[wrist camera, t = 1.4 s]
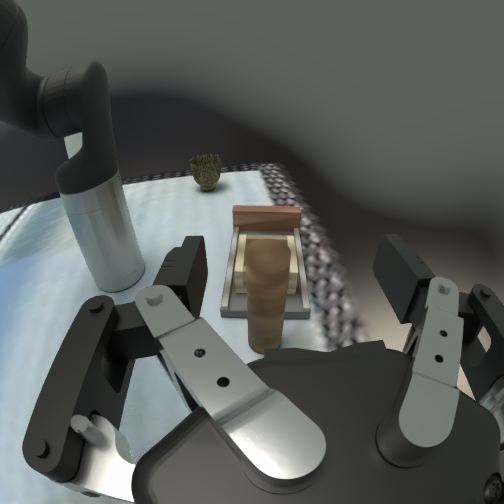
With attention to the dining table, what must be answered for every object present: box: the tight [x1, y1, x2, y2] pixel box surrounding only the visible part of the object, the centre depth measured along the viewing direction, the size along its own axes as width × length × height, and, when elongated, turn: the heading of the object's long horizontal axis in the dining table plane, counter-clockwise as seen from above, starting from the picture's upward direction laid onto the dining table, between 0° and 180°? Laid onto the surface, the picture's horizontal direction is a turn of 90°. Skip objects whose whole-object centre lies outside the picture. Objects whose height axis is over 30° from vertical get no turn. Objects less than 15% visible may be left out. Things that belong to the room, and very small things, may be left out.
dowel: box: [245, 239, 291, 354], centre depth 29 cm, size 4×4×14 cm
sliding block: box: [235, 235, 298, 294], centre depth 39 cm, size 8×8×4 cm
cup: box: [190, 154, 221, 191], centre depth 64 cm, size 8×7×8 cm
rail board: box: [220, 205, 310, 319], centre depth 42 cm, size 20×12×6 cm, turn 177°
